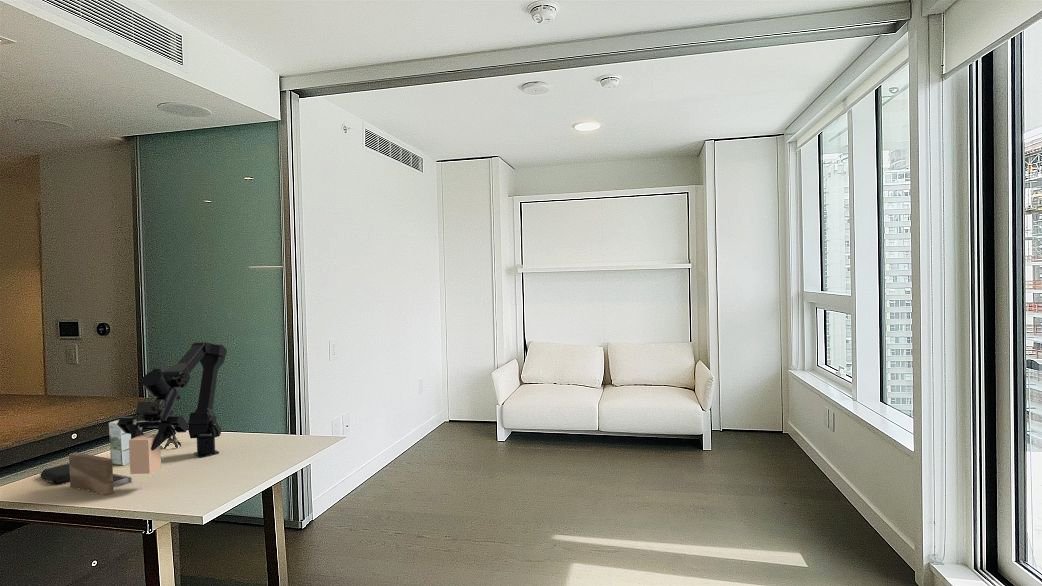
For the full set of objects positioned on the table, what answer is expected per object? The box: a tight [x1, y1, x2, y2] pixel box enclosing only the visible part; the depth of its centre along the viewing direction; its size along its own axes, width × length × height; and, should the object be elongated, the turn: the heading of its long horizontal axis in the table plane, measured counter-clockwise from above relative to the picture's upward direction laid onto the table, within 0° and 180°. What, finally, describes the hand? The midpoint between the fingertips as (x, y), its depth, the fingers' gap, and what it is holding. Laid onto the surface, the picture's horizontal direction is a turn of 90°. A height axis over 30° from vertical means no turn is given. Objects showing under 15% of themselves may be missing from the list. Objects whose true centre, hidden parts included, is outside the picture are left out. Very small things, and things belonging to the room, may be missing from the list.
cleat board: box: [68, 451, 133, 496], centre depth 179 cm, size 10×18×10 cm, turn 65°
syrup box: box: [108, 419, 131, 466], centre depth 202 cm, size 6×6×14 cm
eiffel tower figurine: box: [160, 414, 182, 450], centre depth 220 cm, size 15×10×13 cm
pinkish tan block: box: [129, 434, 162, 475], centre depth 176 cm, size 6×6×10 cm
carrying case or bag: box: [40, 463, 70, 485], centre depth 187 cm, size 11×3×15 cm
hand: (142, 449), depth 174 cm, fingers closed on pinkish tan block, 6 cm apart
